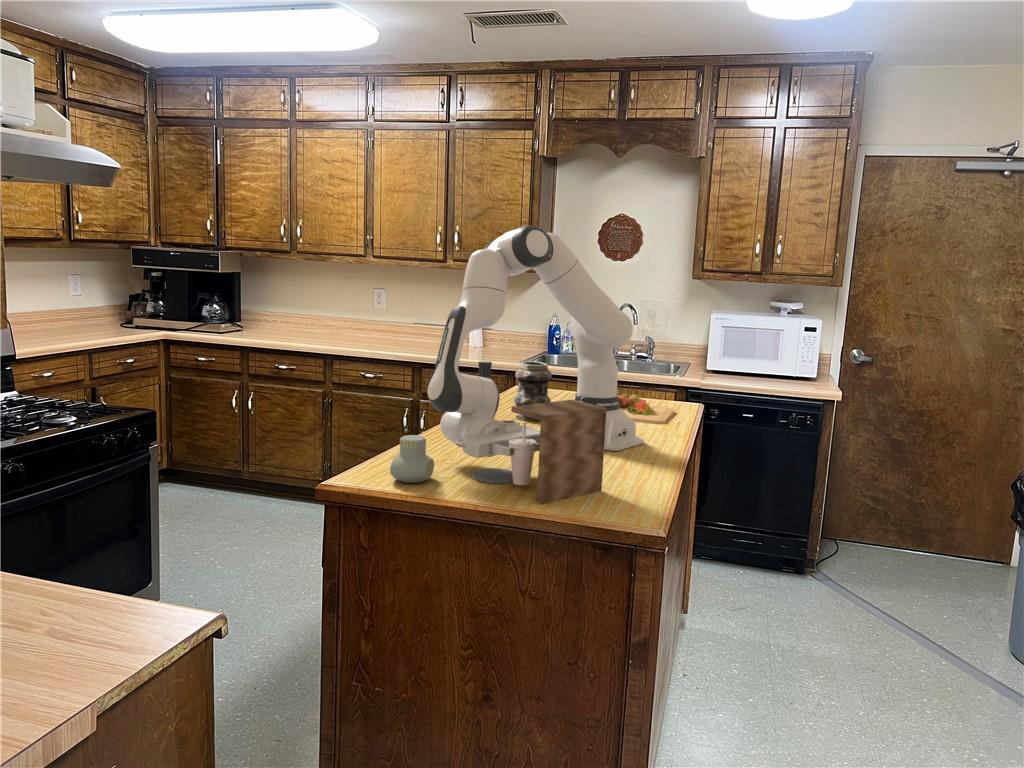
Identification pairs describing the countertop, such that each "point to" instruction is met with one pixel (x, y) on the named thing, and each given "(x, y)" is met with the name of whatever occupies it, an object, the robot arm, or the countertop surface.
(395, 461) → the air freshener
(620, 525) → the countertop surface
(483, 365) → the sauce bottle
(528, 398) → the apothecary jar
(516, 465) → the smoothie
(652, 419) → the cutting board
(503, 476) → the coaster
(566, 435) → the shelf
